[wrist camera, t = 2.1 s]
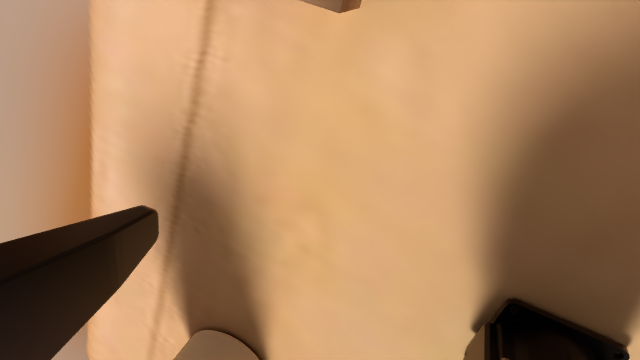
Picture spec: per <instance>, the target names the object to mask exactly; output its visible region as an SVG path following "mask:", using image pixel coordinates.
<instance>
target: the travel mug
mask: <svg viewBox="0 0 640 360" xmlns="http://www.w3.org/2000/svg"><path fill="white" fill-rule="evenodd" d="M173 360H259V359H258V357H257V356H256V355H255V354H254V353H253V352H252V351H251V350H250V349H249V348H248V347H247V346H246V345H245V344H244V343H242V342H241V341H239V340H237V339H235V338H233V337H232V336H230V335H227V334H225V333H222V332H218V331H213V330H203V331H199V332H197V333H195V334H194V335H193V336H192V337H191V338H190V340H189V341H188V342H187V343H186V344H185V346H184V347H183V348H182V349H181V351H180V352H179V353H178V354H177V356H176V357H175V358H174V359H173Z"/></svg>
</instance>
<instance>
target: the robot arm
mask: <svg viewBox="0 0 640 360" xmlns="http://www.w3.org/2000/svg"><path fill="white" fill-rule="evenodd" d="M158 235H159V225H158V213H157V211H156V210H154V209H152V208H150V207H147V206H144V205H141V206H137V207H133V208H129V209H126V210H122V211H118V212H115V213H111V214H107V215H103V216H100V217H96V218H92V219H89V220H85V221H81V222H78V223H74V224H70V225H67V226H63V227H59V228H56V229H52V230H48V231H44V232H41V233H37V234H33V235H30V236H26V237H22V238H18V239H15V240H11V241H7V242H4V243H0V360H51V359H52V358H53V357H54V356H55V355H56V354H57V352H59V351H60V350H61V348H62V347H63V346H64V345H65V344H66V343H67V342H68V341H69V340H70V339H71V338H72V337H73V336H74V335H75V334H76V333H77V332H78V331H79V330H80V329H81V328H82V327H83V326H84V324H85V323H86V322H87V321H88V320H89V319H90V318H91V317H92V316H93V315H94V314H95V313H96V312H97V311H98V310H99V309H100V308H101V307H102V306H103V305H104V304H105V303H106V302H107V301H108V300H109V298H110V297H111V296H112V295H113V294H114V293H115V292H116V291H117V290H118V289H119V288H120V287H121V285H122V284H123V283H124V282H125V281H126V279H127V278H128V277H129V275H130V274H131V273H132V272H133V270H134V269H135V268H136V267H137V265H138V264H139V263H140V261H141V260H142V259H143V258H144V256H145V255H146V254H147V252H148V251H149V250H150V249H151V247H152V246H153V245H154V243H155V242H156V240H157V238H158ZM511 307H517V309H512V308H511ZM617 352H619V353H617ZM615 353H617V354H615ZM629 358H630V357H629V353H628V350H627V348H626V347H625V346H624V345H622V344H620V343H617V342H615V341H613V340H610V339H608V338H606V337H604V336H601V335H599V334H597V333H594V332H592V331H590V330H587V329H585V328H583V327H580V326H578V325H576V324H574V323H571V322H569V321H567V320H564V319H562V318H560V317H557V316H555V315H553V314H550V313H548V312H546V311H544V310H541V309H539V308H537V307H534V306H532V305H530V304H527V303H525V302H523V301H520V300H518V299H508V300H506V301H505V302H504V304H503V305H502V307H501V308H500V309H499V311H498V312H497V313H496V315H495V316H494V317H493V319H492V320H491V322H487V323H484V324H483V326H482V327H481V328H480V330H479V331H478V333H477V334H476V335H475V337H474V338H473V339H472V341H471V342H470V344H469V345H468V346H467V351H466V356H465V357H464V359H463V360H629Z"/></svg>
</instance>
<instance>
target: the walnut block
mask: <svg viewBox="0 0 640 360" xmlns="http://www.w3.org/2000/svg"><path fill="white" fill-rule="evenodd" d="M300 1H303V2H306V3H309V4H312V5H315V6H319V7H322V8H325V9H328V10H331V11H334V12H337V13H342V12H346V11H350V10H353V9H357V8H359V7H360V3H361V0H300Z"/></svg>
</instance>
